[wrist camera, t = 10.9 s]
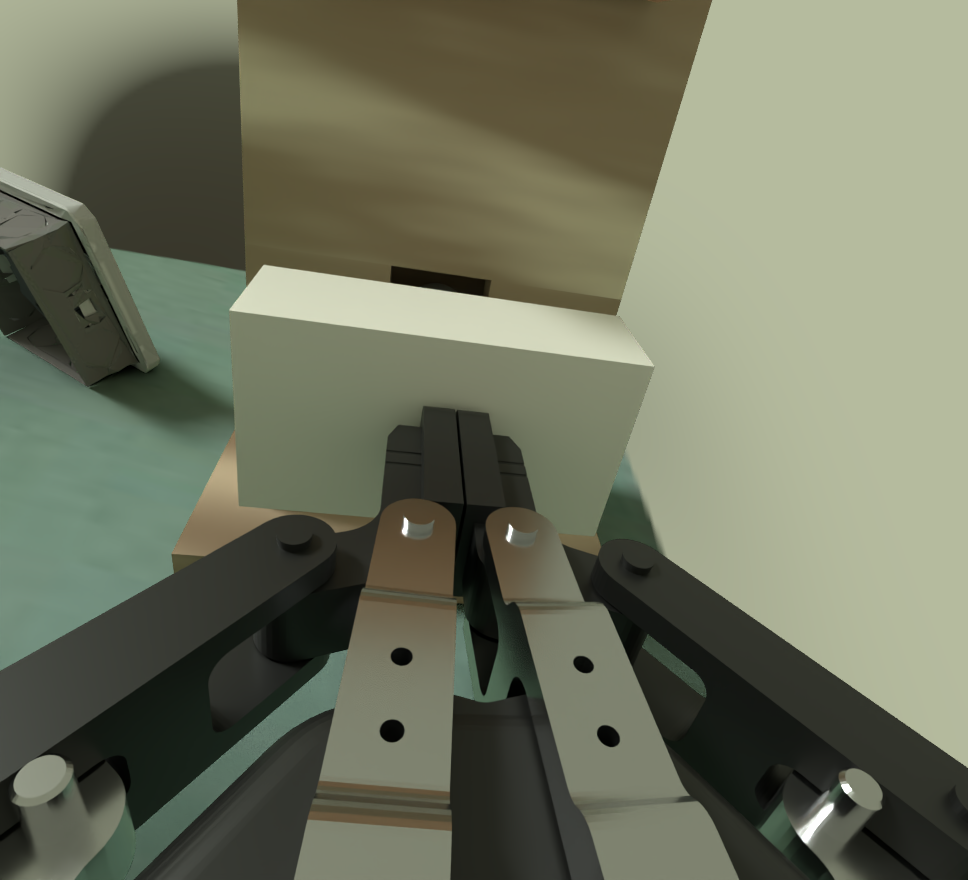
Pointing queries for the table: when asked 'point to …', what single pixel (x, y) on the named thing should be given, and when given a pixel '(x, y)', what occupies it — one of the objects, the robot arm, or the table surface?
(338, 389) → the lower knob
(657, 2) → the orange block
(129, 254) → the table surface
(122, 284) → the electrical switch
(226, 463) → the knob post
